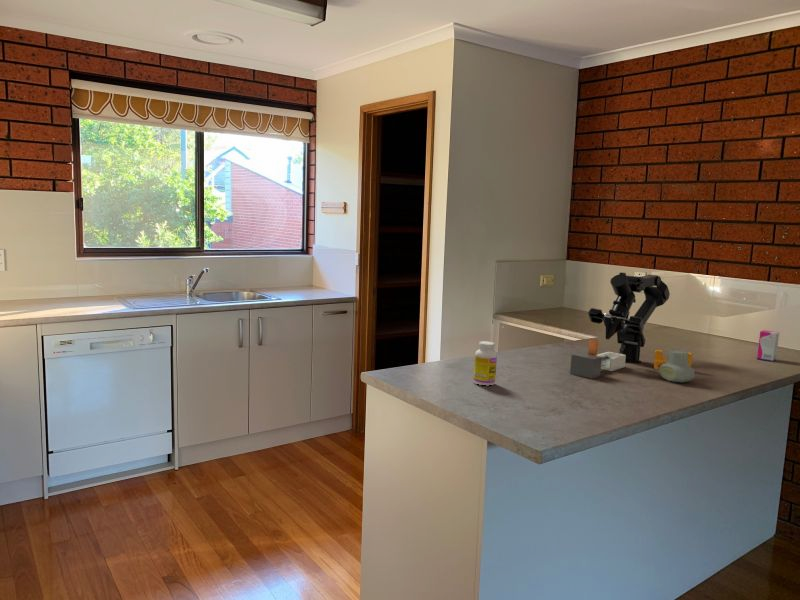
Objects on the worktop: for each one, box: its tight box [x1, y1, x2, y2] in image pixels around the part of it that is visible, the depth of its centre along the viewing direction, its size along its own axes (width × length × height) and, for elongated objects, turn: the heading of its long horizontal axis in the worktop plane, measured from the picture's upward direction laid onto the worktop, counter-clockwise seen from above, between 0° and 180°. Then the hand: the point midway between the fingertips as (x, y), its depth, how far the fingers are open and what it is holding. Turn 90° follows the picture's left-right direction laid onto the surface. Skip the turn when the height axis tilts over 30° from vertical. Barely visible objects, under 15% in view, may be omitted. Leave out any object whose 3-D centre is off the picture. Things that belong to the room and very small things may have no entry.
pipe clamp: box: [653, 349, 693, 370], centre depth 225 cm, size 12×4×6 cm, turn 75°
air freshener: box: [658, 349, 696, 384], centre depth 209 cm, size 11×8×10 cm
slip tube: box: [587, 338, 610, 367], centre depth 215 cm, size 16×4×10 cm, turn 137°
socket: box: [569, 352, 602, 380], centre depth 211 cm, size 6×8×7 cm
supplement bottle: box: [473, 340, 498, 387], centre depth 193 cm, size 7×7×13 cm
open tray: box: [597, 351, 626, 372], centre depth 224 cm, size 10×7×4 cm, turn 137°
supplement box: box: [756, 330, 780, 363], centre depth 251 cm, size 6×6×12 cm
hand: (606, 338), depth 220 cm, fingers closed
